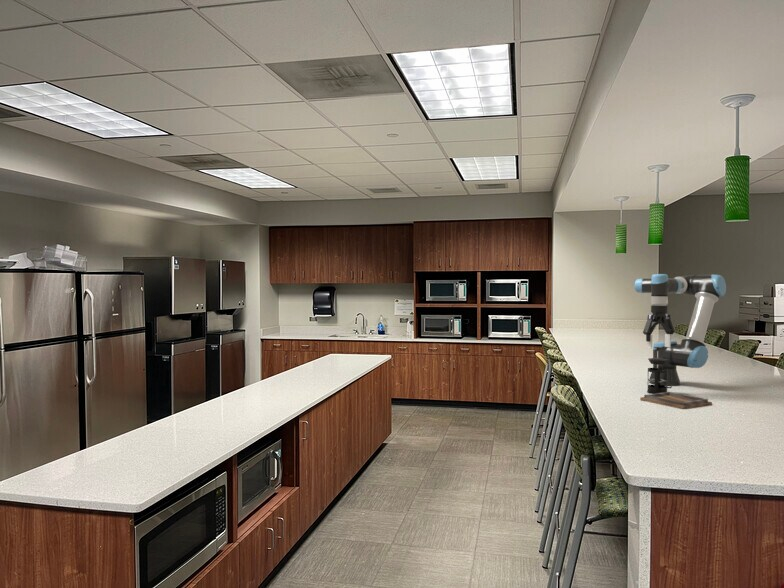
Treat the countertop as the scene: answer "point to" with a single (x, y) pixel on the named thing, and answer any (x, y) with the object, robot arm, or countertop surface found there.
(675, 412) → the countertop surface
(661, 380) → the french press
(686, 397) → the serving board
